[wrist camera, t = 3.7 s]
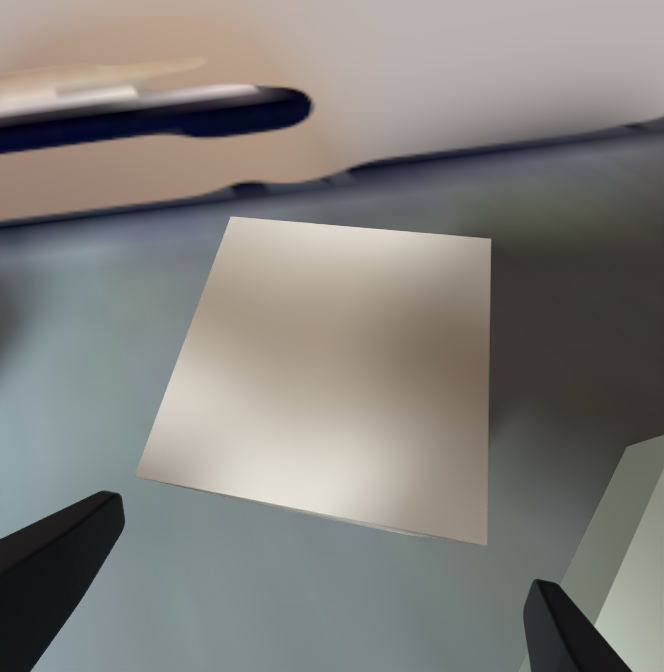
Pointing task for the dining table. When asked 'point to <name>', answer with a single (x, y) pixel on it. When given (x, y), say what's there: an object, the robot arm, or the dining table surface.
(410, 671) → the dining table surface
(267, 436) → the cream block
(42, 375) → the dining table surface
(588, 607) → the sage block
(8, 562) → the robot arm
